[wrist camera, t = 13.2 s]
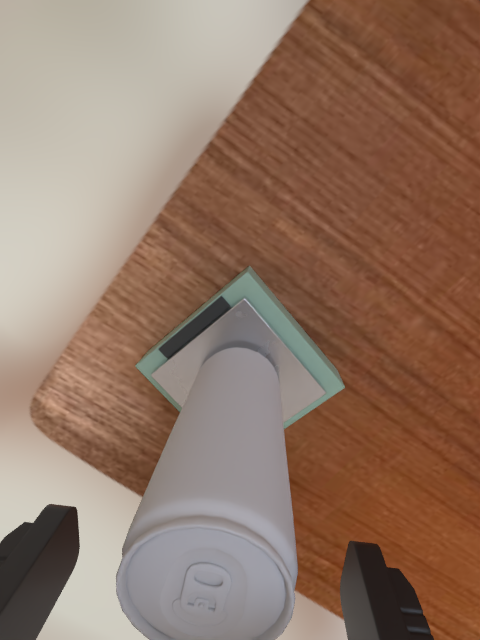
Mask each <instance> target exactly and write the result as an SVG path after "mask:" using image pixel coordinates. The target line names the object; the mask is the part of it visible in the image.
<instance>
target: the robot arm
mask: <svg viewBox="0 0 480 640" xmlns="http://www.w3.org/2000/svg"><path fill="white" fill-rule="evenodd" d="M79 547H80V546H79V529H78V515H77V509H76V507H71V506H62V505H54V504H49V505H47V506H46V507H45V508H44V510H43V511H42V512H41V513H40V515H39V516H38V517H37V519H36V520H35V521H34V523H28V522H24V523H23V524H22V525H20V526H19V527H18V528H16V529H15V530H14V531H12V532H11V533H10V534H8V535H7V536H6V537H5V538H4V539H3V540H2V541H1V543H0V640H36V638H37V636H38V634H39V633H40V631H41V629H42V627H43V625H44V623H45V622H46V619H47V618H48V616H49V614H50V612H51V610H52V609H53V607H54V605H55V603H56V601H57V599H58V597H59V596H60V594H61V592H62V590H63V588H64V586H65V584H66V582H67V581H68V579H69V577H70V575H71V573H72V571H73V569H74V567H75V565H76V562H77V558H78V554H79ZM340 596H341V605H342V611H343V616H344V621H345V626H346V632H347V637H348V640H434V638H433V636H432V635H431V633H430V628H429V626H428V623H427V621H426V618H425V616H423V610H422V608H421V605H420V603H419V600H418V598H417V595H416V593H415V590H414V588H413V587H412V586H411V584H410V583H409V582H408V580H407V579H406V578H405V576H404V575H403V574H402V572H401V571H400V570H399V569H397V568H388V567H386V564H385V561H384V558H383V555H382V552H381V550H380V547H379V546H378V545H377V544H373V543H365V542H356V541H350V542H349V544H348V548H347V553H346V558H345V562H344V567H343V572H342V576H341V583H340Z"/></svg>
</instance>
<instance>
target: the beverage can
mask: <svg viewBox="0 0 480 640" xmlns="http://www.w3.org/2000/svg"><path fill="white" fill-rule="evenodd" d="M122 552H123V553H122V555H123V556H122V557H123V558H122V561H121V564H120V566H119V569H118V572H117V575H116V587H117V588H116V592H117V596H118V599H119V602H120V605H121V608H122V611H123V612H124V613H125V615H126V616H127V618H128V619H129V620H130V622H131V623H132V625H133V626H134V627H135V628H136V629H137V630H139V631H140V632H141V633H142V634H143V635H144V636H145V637H147V638H148V639H149V640H275V639H277V638H278V637H279V636H280V635H281V634H282V633H283V632H284V630H285V628H286V627H287V625H288V623H289V621H290V620H291V618H292V614H293V609H294V603H295V594H294V590H295V584H296V579H297V573H298V564H297V554H296V543H295V532H294V522H293V512H292V502H291V493H290V484H289V475H288V466H287V457H286V448H285V437H284V426H283V415H282V403H281V392H280V384H279V379H278V376H277V373H276V371H275V369H274V367H273V365H272V364H271V363H270V362H269V360H268V359H267V358H265V357H264V356H263V355H261V354H260V353H258V352H256V351H253V350H250V349H248V348H239V347H235V348H228V349H224V350H222V351H220V352H218V353H215V354H214V355H213V356H212V357H210V358H209V359H208V360H207V361H206V362H205V363H204V364H203V365H202V367H201V368H200V369H199V372H198V374H197V376H196V378H195V381H194V383H193V385H192V387H191V390H190V392H189V394H188V397H187V399H186V401H185V403H184V405H183V407H182V410H181V412H180V414H179V416H178V418H177V420H176V423H175V425H174V427H173V429H172V432H171V434H170V436H169V438H168V441H167V443H166V445H165V447H164V450H163V452H162V454H161V457H160V459H159V461H158V464H157V466H156V468H155V470H154V473H153V475H152V477H151V480H150V482H149V484H148V487H147V489H146V491H145V493H144V496H143V498H142V500H141V503H140V505H139V507H138V510H137V512H136V514H135V517H134V519H133V522H132V524H131V526H130V528H129V531H128V534H127V537H126V540H125V543H124V545H123V548H122Z"/></svg>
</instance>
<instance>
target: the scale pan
mask: <svg viewBox="0 0 480 640" xmlns="http://www.w3.org/2000/svg"><path fill="white" fill-rule="evenodd" d="M235 347H239V348H248V349H250V350H253V351H256V352H258V353H260V354H261V355H263V356H264V357H265V358H267V359H268V360H269V362H270V363H271V364H272V365H273V367H274V369H275V371H276V373H277V376H278V379H279V384H280V392H281V403H282V415H283V423H284V422H285V421H287V420H288V419H290V418H291V417H293V416H294V415H296V414H297V413H298V412H300V411H301V410H303V409H304V408H306V407H307V406H309V405H310V404H311V403H313V402H314V401H316V400H317V399H319V398H320V397H322V396H323V395H324V394H326V391H325V388H324V386H323V385H322V384H321V383H320V381H319V380H318V379H317V378H316V377H315V376H314V374H313V373H312V372H311V371H310V370H309V369H308V367H307V366H306V365H305V364H304V363H303V362H302V360H301V359H300V358H299V357H298V356H297V355H296V353H295V352H294V351H293V350H292V349H291V348H290V346H289V345H288V344H287V343H286V342H285V341H284V339H283V338H282V337H281V336H280V335H279V334H278V332H277V331H276V330H275V329H274V328H273V327H272V325H271V324H270V323H269V322H268V321H267V320H266V318H265V317H264V316H263V315H262V314H261V313H260V311H259V310H258V309H257V308H256V307H255V306H254V304H253V303H252V302H251V301H250V300H249V299H248V297H247V296H246V295H245V296H243V297H242V298H241V299H240V300H239V301H237V302H236V303H235V304H234V305H232V306H231V307H230V308H229V309H228V310H226V311H225V312H224V313H223V314H222V315H220V316H219V317H218V318H217V319H215V320H214V321H213V322H212V323H211V324H209V325H208V326H207V327H206V328H205V329H203V330H202V331H201V332H200V333H198V334H197V335H196V336H195V337H194V338H192V339H191V340H190V341H189V342H187V343H186V344H185V345H184V346H183V347H181V348H180V349H179V350H178V351H177V352H175V353H174V354H173V355H172V356H170V357H169V358H168V359H167V360H166V361H164V362H163V363H162V364H161V365H160V366H158V367H157V368H156V369H155V370H154V371H153V372H152V374H151V376H152V377H153V378H154V379H155V380H156V381H157V383H158V384H159V385H160V386H161V387H162V388H163V389H164V390H165V391H166V392H167V393H168V394H169V395H170V396H171V397H172V398H173V399H174V400H175V401H176V402H177V403H178V404H179V405H180V406H181V407H183V405H184V403H185V401H186V399H187V397H188V394H189V392H190V390H191V387H192V385H193V383H194V381H195V378H196V376H197V374H198V372H199V369H200V368H201V367H202V365H203V364H204V363H205V362H206V361H207V360H208V359H209V358H210V357H212V356H213V355H214V354H215V353H218V352H220V351H222V350H224V349H228V348H235Z"/></svg>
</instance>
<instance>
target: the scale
mask: <svg viewBox="0 0 480 640" xmlns="http://www.w3.org/2000/svg"><path fill="white" fill-rule="evenodd" d="M245 295H246V296H247V297H248V299H249V300H250V301H251V302H252V303H253V304H254V306H255V307H256V308H257V309H258V310H259V311H260V313H261V314H262V315H263V316H264V317H265V318H266V320H267V321H268V322H269V323H270V324H271V325H272V327H273V328H274V329H275V330H276V331H277V332H278V334H279V335H280V336H281V337H282V338H283V339H284V341H285V342H286V343H287V344H288V345H289V346H290V348H291V349H292V350H293V351H294V352H295V353H296V355H297V356H298V357H299V358H300V359H301V360H302V362H303V363H304V364H305V365H306V366H307V367H308V369H309V370H310V371H311V372H312V373H313V374H314V376H315V377H316V378H317V379H318V380H319V381H320V383H321V384H322V385H323V386H324V388H325V391H326V394H324V395H323V396H322V397H320V398H319V399H317V400H316V401H314V402H313V403H311V404H310V405H309V406H307V407H306V408H304V409H303V410H301V411H300V412H298V413H297V414H296V415H294V416H293V417H291V418H290V419H288V420H287V421H285V422H284V423H283V426H284V429H285V428H287V427H288V426H289V425H291V424H292V423H294V422H295V421H297V420H298V419H300V418H301V417H303V416H304V415H306V414H307V413H308V412H310V411H311V410H313V409H314V408H316V407H317V406H319V405H320V404H322V403H323V402H324V401H326V400H327V399H329V398H330V397H332V396H333V395H335V394H336V393H338V392H339V391H341V390H342V389H343V388H345V386H344V384H343V382H342V379H341V377H340V375H339V373H338V371H337V369H336V368H335V367H334V366H333V364H332V363H331V362H330V361H329V360H328V358H327V357H326V356H325V355H324V354H323V352H322V351H321V350H320V349H319V348H318V346H317V345H316V344H315V343H314V342H313V341H312V339H311V338H310V337H309V336H308V335H307V333H306V332H305V331H304V330H303V329H302V327H301V326H300V325H299V324H298V323H297V321H296V320H295V319H294V318H293V317H292V316H291V314H290V313H289V312H288V311H287V310H286V308H285V307H284V306H283V305H282V304H281V302H280V301H279V300H278V299H277V298H276V296H275V295H274V294H273V293H272V292H271V291H270V289H269V288H268V287H267V286H266V285H265V283H264V282H263V281H262V280H261V279H260V277H259V276H258V275H257V274H256V273H255V271H254V270H253V269H252V268H251V267H250V266H248V267H247V268H246V269H245V270H243V271H242V272H241V273H240V274H239V275H238V276H236V277H235V278H234V279H233V280H232V281H230V282H229V283H228V284H227V285H226V286H224V287H223V288H222V289H221V290H220V291H219V292H217V293H216V294H215V295H214V296H213V297H211V298H210V299H209V300H208V301H207V302H206V303H204V304H203V305H202V306H201V307H200V308H198V309H197V310H196V311H195V312H194V313H193V314H191V315H190V316H189V317H188V318H187V319H185V320H184V321H183V322H182V323H181V324H179V325H178V326H177V327H176V328H175V329H174V330H172V331H171V332H170V333H169V334H168V335H166V336H165V337H164V338H163V339H162V340H161V341H159V342H158V343H157V344H156V345H155V346H153V347H152V348H151V349H150V350H149V351H148V352H147V353H146V354H145V355H144V356H143V357H142V359H141V360H140V361H139V362H138V363H137V364H136V368H137V369H138V370H139V371H140V372H141V373H142V374H143V375H144V376H145V377H146V378H147V379H148V380H149V381H150V382H151V383H152V384H153V385H154V386H155V387H156V388H157V389H158V390H159V391H160V392H161V393H162V394H163V395H164V396H165V397H166V399H167V400H168V401H169V402H170V403H171V404H172V405H173V406H174V407H175V408H176V409H177V410H178V411H179V412H181V410H182V407H181V406H180V405H179V404H178V403H177V402H176V401H175V400H174V399H173V398H172V397H171V396H170V395H169V394H168V393H167V392H166V391H165V390H164V389H163V388H162V387H161V386H160V385H159V384H158V383H157V381H156V380H155V379H154V378H153V377H152V376H151V374H152V372H153V371H154V370H155V369H156V368H157V367H158V366H160V365H161V364H162V363H163V362H164V361H166V360H167V359H168V358H169V357H170V356H172V355H173V354H174V353H175V352H177V351H178V350H179V349H180V348H181V347H183V346H184V345H185V344H186V343H187V342H189V341H190V340H191V339H192V338H194V337H195V336H196V335H197V334H198V333H200V332H201V331H202V330H203V329H205V328H206V327H207V326H208V325H209V324H211V323H212V322H213V321H214V320H215V319H217V318H218V317H219V316H220V315H222V314H223V313H224V312H225V311H226V310H228V309H229V308H230V307H231V306H232V305H234V304H235V303H236V302H237V301H239V300H240V299H241V298H242V297H243V296H245Z"/></svg>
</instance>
